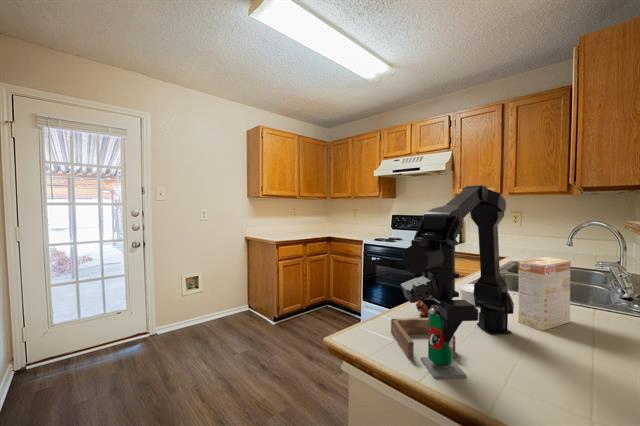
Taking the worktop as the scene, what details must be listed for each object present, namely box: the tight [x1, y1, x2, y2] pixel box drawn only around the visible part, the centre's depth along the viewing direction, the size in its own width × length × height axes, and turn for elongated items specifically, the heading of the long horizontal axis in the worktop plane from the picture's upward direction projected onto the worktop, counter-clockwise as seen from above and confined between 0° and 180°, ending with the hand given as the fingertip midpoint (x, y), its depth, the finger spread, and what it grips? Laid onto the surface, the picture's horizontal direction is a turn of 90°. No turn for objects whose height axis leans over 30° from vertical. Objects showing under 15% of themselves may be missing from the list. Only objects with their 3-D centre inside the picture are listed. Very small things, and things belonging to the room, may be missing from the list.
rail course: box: [390, 317, 456, 360], centre depth 72 cm, size 13×14×4 cm
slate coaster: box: [420, 356, 467, 379], centre depth 61 cm, size 7×7×1 cm
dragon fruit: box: [415, 300, 428, 317], centre depth 91 cm, size 8×8×12 cm
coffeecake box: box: [517, 256, 571, 332], centre depth 85 cm, size 15×7×20 cm, turn 113°
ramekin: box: [458, 283, 475, 306], centre depth 104 cm, size 11×11×5 cm
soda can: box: [427, 305, 454, 366], centre depth 61 cm, size 5×5×12 cm
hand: (440, 335), depth 61 cm, fingers closed on soda can, 5 cm apart
